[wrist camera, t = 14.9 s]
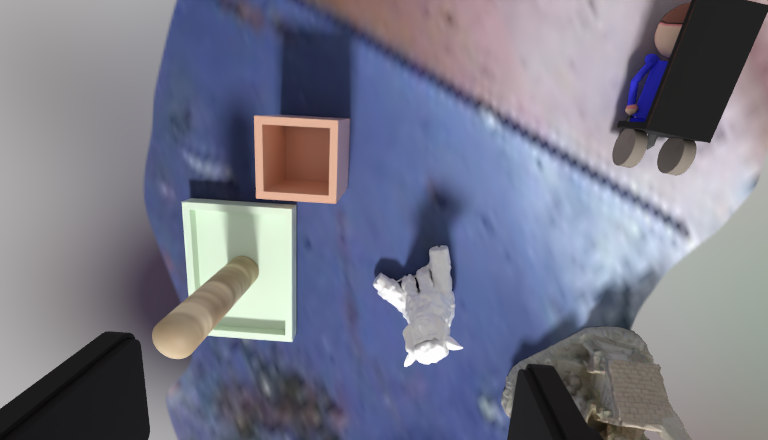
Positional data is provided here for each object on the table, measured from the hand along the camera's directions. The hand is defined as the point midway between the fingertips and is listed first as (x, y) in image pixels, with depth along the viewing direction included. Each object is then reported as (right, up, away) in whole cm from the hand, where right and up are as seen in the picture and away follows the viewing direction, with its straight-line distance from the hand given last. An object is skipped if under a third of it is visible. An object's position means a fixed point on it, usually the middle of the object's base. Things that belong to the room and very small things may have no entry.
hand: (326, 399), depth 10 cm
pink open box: (-6, +12, +35) cm, 37 cm away
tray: (-15, -1, +39) cm, 41 cm away
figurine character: (+28, +17, +32) cm, 46 cm away
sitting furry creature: (+6, -4, +38) cm, 39 cm away
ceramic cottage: (+25, -15, +41) cm, 50 cm away
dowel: (-15, -1, +38) cm, 41 cm away
